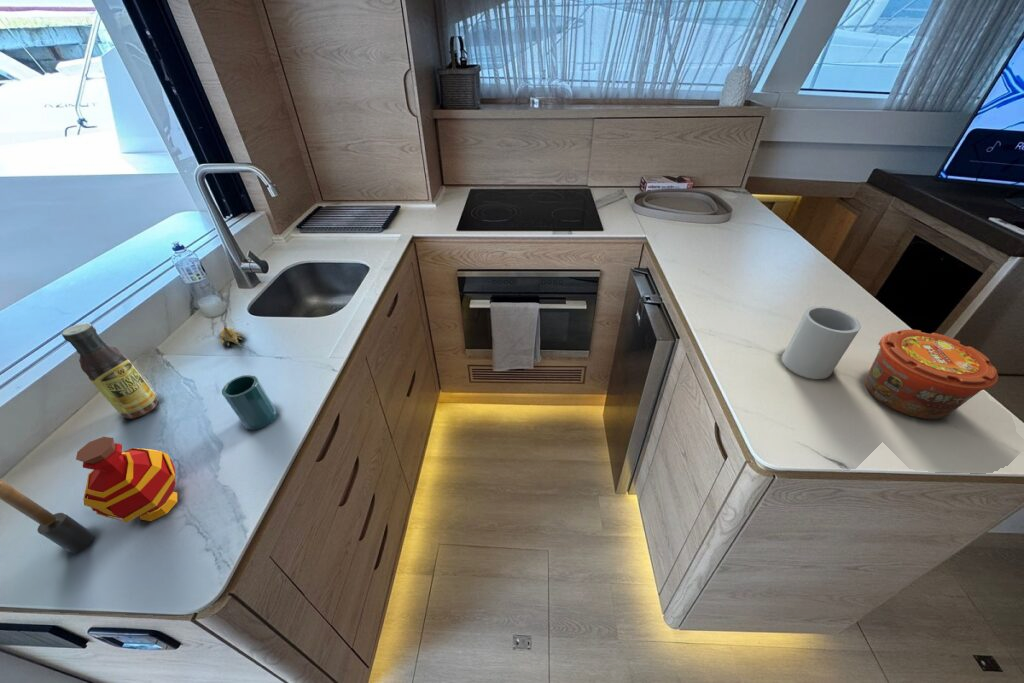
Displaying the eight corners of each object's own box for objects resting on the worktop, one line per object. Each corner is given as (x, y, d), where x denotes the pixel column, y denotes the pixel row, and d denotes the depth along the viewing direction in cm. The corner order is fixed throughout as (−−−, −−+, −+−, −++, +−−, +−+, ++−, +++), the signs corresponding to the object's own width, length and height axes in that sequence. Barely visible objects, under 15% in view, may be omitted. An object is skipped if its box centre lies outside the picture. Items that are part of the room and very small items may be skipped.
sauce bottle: (138, 423, 77) (63, 344, 65) (115, 416, 79) (38, 338, 66) (169, 399, 82) (105, 322, 70) (147, 394, 84) (81, 317, 71)
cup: (777, 348, 89) (799, 303, 82) (823, 354, 87) (850, 309, 80) (787, 375, 82) (813, 329, 75) (837, 382, 80) (868, 335, 73)
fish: (237, 330, 102) (227, 314, 99) (256, 347, 94) (245, 329, 91) (216, 339, 99) (205, 323, 96) (234, 357, 91) (222, 340, 88)
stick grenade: (92, 546, 58) (-38, 460, 45) (66, 556, 57) (-75, 472, 44) (96, 528, 61) (-26, 441, 47) (71, 538, 59) (-62, 452, 46)
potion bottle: (208, 495, 64) (153, 437, 55) (135, 550, 58) (59, 496, 48) (178, 466, 69) (123, 408, 60) (107, 514, 62) (32, 458, 53)
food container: (835, 371, 83) (862, 330, 76) (907, 364, 84) (939, 324, 77) (901, 431, 70) (939, 388, 64) (984, 423, 71) (1031, 380, 64)
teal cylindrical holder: (278, 422, 76) (258, 389, 71) (244, 434, 74) (221, 401, 69) (275, 403, 80) (256, 370, 75) (243, 414, 78) (221, 382, 73)
